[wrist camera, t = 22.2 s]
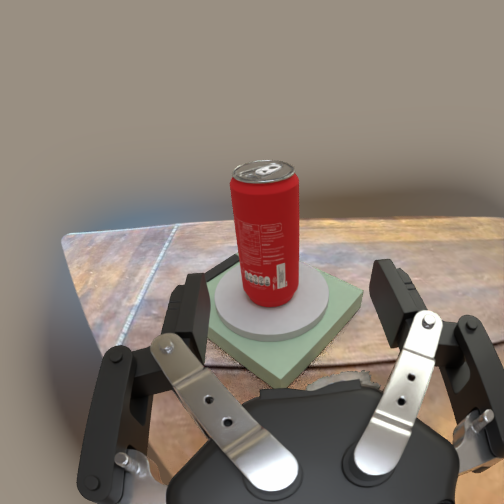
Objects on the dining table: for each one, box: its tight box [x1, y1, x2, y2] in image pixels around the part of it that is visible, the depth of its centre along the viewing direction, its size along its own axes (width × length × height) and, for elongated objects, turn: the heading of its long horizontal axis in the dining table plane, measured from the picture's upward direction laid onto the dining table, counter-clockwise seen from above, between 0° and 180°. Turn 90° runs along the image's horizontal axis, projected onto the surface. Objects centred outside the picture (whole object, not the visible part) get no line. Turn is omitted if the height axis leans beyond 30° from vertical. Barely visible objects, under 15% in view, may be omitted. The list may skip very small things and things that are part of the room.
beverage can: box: [230, 160, 299, 308], centre depth 26 cm, size 5×5×12 cm
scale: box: [204, 253, 363, 389], centre depth 31 cm, size 13×15×3 cm
